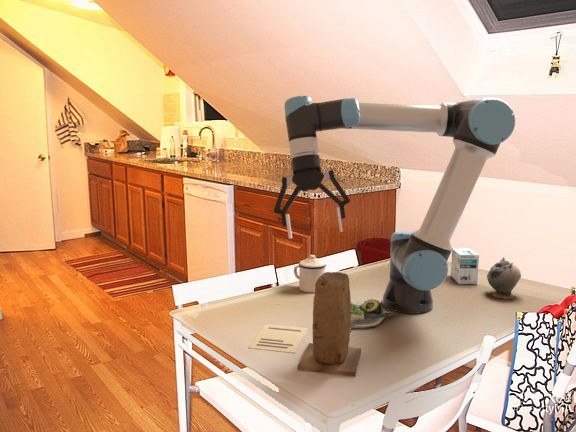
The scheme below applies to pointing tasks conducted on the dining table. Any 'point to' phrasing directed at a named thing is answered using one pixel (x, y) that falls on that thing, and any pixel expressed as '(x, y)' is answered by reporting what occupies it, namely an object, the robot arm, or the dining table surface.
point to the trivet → (343, 368)
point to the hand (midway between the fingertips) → (315, 235)
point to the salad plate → (367, 314)
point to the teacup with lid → (309, 273)
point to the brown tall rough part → (331, 318)
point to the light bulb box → (464, 266)
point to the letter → (279, 338)
